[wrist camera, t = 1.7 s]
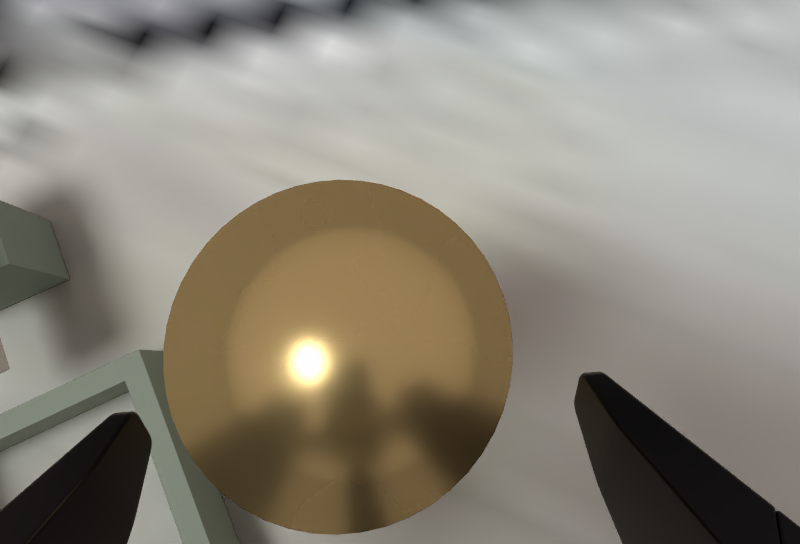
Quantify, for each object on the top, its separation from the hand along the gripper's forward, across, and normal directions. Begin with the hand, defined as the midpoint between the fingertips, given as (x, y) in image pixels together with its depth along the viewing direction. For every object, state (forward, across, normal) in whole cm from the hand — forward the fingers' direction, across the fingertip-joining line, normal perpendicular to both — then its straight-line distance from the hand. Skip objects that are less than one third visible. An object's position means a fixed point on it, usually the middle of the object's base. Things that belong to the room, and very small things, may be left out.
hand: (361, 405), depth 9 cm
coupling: (+7, 0, +6) cm, 9 cm away
